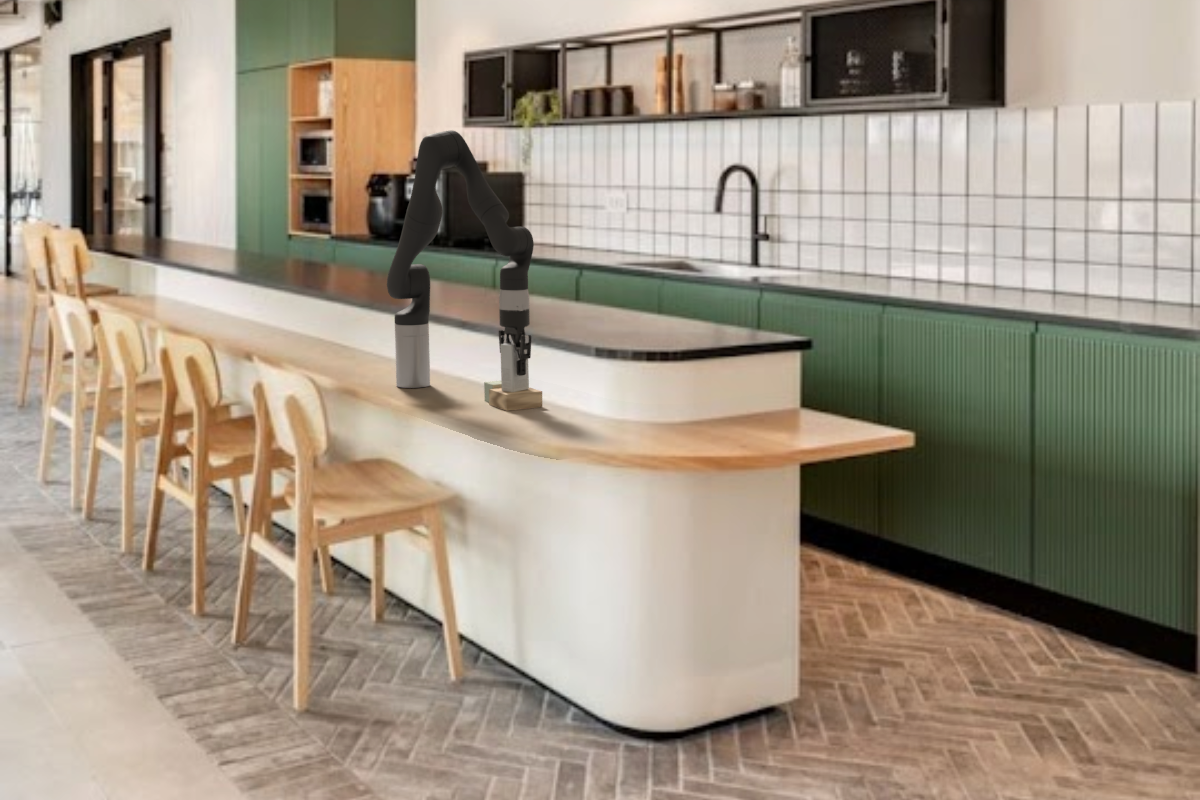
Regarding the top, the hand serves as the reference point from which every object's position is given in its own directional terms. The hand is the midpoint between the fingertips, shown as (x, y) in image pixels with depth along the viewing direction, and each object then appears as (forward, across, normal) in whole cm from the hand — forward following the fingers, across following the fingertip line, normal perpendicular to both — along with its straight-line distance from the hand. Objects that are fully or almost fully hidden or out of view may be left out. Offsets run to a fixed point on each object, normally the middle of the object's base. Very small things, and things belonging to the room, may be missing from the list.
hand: (515, 373), depth 369 cm
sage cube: (+9, -8, -1) cm, 12 cm away
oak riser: (+8, 0, 0) cm, 8 cm away
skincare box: (+5, 0, 0) cm, 5 cm away
